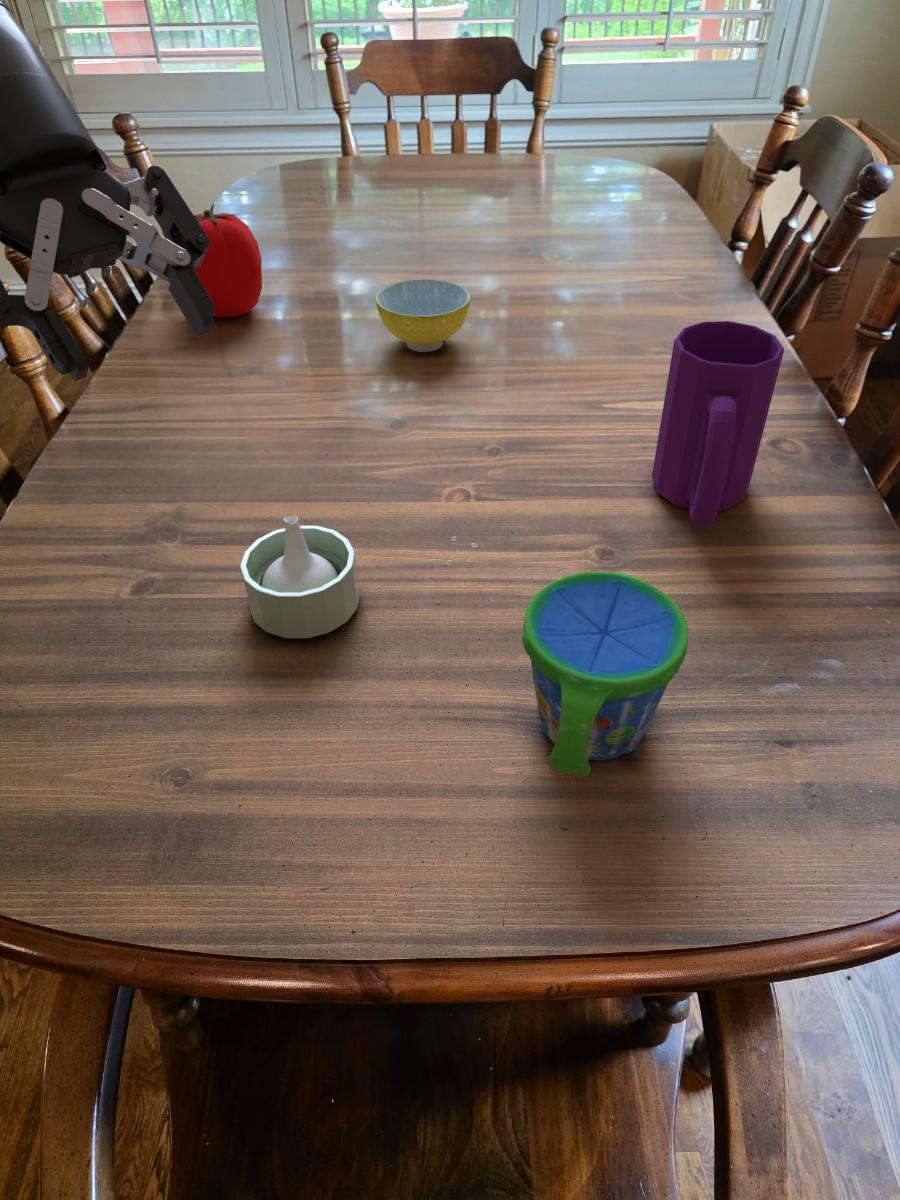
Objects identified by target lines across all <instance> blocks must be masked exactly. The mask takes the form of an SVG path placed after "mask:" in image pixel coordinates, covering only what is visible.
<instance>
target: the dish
mask: <svg viewBox="0 0 900 1200" xmlns="http://www.w3.org/2000/svg"><path fill="white" fill-rule="evenodd" d="M299 525H300V528H301V530H302V533H303V536H304V539H305V542H306V545H307V547H308V550H309V552H310V553H314V554H317V555H319V556H321V557H323V558H325V559H326V560H327V561H328V562H329V563H331V565H332V566H333V567H334V569H335V570H336V572H337V575H338V577H337V578H335V579H334V580H332V581H330V582H328V583H327V584H325V585H323V586H322V587H319V588H315V589H311V590H307V591H304V592H276V591H273V590H270V589H266V588H263V587H262V580H263V577H264V574H265V572H266V570H267V569H268V568H269V566H270V565H271V564H272V563H273V562H275V561H276V560H277V559H278V558H280V557H282V556H284V550H285V527H283V528H279V529H275V530H273V531H271V532H268V533H267V534H265V535H263V536H261V537H259V538H257V539H256V540H254V541H253V543H252V544H250V546H249V547H248V548H246V550H245V551H244V553H243V555H242V558H241V562H240V565H239V570H240V574H241V577H242V582H243V587H244V591H245V595H246V599H247V603H248V608H249V611H250V614H251V617H252V621H253V622H254V624H256V625H257V626H259V627H260V628H261V629H262V630H263V631H264V632H266V633H268V634H271V635H273V636H277V637H281V638H284V639H310V638H314V637H318V636H321V635H325V634H329V633H331V632H333V631H334V630H336V629H338V628H339V627H341V626H342V625H344V624H346V623H347V622H349V620H350V618H351V617H352V616H353V614H354V613H355V612H356V611H357V609H358V608H359V607H358V606H359V600H360V595H361V593H360V586H359V576H358V568H357V560H356V559H357V558H356V553H355V550H354V547H353V546H352V544H351V541H350V540H349V539H348V538H347V537H346V536H344V535H342V534H341V533H340V532H338V531H337V530H335V529H332V528H327V527H324V526H320V525H315V524H314V525H307V524H305V525H301V524H299Z"/></svg>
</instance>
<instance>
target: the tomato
mask: <svg viewBox="0 0 900 1200" xmlns="http://www.w3.org/2000/svg"><path fill="white" fill-rule="evenodd" d="M214 207H215V203H212V204H211V205H210V208H209V209H205V210H203V213H198V214H193V215H194V217H195V218H196V220H197V221H198V223H199V224H200V226H201V227H202V229H203V230H204V232H205V233H206V235H207V236H208V238H209V240H210V245H209V247H208V249H207V251H206V253H205V255H204V257H203V261H202V263H201V265H200V267H198V268H195V269H194V271H195V273H196V275H197V277H198V278H199V280H200V282H201V283H202V285H203V287H204V288H205V290H206V292H207V294H208V295H209V297H210V299H211V300H212V302H213V304H214V307H215V315H214V317H216V318H231V317H240V316H242V315H245V314H247V313H249V312H251V311H252V310H253V309H254V308H255V307H256V306H257V304H258V303H259V300H260V296H261V292H262V289H263V271H262V260H263V259H262V256H261V251H260V247H259V243H258V241H257V239H256V238H255V236H254V234H253V233H252V231H251V229H250V227H249V226H248V225H247V224H246V222H244V221H243V220H241V219H240V218H239V217H238V216H237V215H239V213H235V214H234V213H228V212H221V213H216V214H215V213H214Z"/></svg>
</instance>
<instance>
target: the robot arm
mask: <svg viewBox="0 0 900 1200" xmlns="http://www.w3.org/2000/svg"><path fill="white" fill-rule="evenodd" d="M48 63H49V62H47V60H46V58H45V57H44V55H43V53H42V52H41V50H40V49H39V48H38V46H37V44H36V43H35V42H34V41H33V39H32V38H31V37H30V35H29V34H28V33H27V31H26V30H25V29H24V27H22V25H21V24H20V22H19V21H18V19H17V17H16V16H15V14H14V13H13V10H12V9H11V8H10V6H9V4H8V2H7V1H6V0H0V243H1V244H2V245H4V246H5V247H7V248H9V249H11V250H13V251H14V252H16V253H18V254H20V255H21V256H23V257H25V258H27V259H29V260H30V263H29V270H28V277H27V282H26V288H25V294H9V292H8V291H7V289H6V287H5V285H4V284H3V282H2V280H1V279H0V330H5V329H7V328H8V327H23V328H24V329H27V330H29V331H30V332H31V333H32V335H33V336H34V338H35V340H36V341H37V343H38V345H39V347H40V348H41V350H42V351H43V353H44V354H45V356H46V358H47V359H48V362H49V363H50V364H51V367H52V368H53V369H54V370H55V371H56V372H57V373H58V374H60V375H61V376H64V375H69V377H70V378H71V380H72V381H73V382H77V381H79V380H83V379H86V378H87V375H88V372H89V368H90V367H89V362H88V360H87V358H86V356H85V355H84V353H83V351H82V350H81V348H80V347H79V344H78V343H77V342H76V340H75V338H74V337H73V335H72V334H71V332H70V330H69V328H68V327H67V325H66V323H65V322H64V320H63V318H62V316H61V315H60V313H59V312H58V310H57V309H56V308H53V309H50V307H49V306H48V305H49V304H48V303H49V299H50V293H51V288H52V287H51V286H52V281H53V276H54V273H55V274H57V275H60V276H61V275H62V276H67V278H68V279H73V278H75V277H79V276H81V275H83V274H84V273H86V272H88V271H89V270H91V269H105V268H109V267H112V266H115V265H116V264H117V260H119V261H121V262H122V263H125V264H126V265H128V266H130V267H131V268H133V269H135V270H137V271H143V270H144V271H147V272H149V273H151V274H152V275H155V276H156V277H158V278H160V279H162V280H163V281H165V282H167V283H169V286H168V288H167V289H168V292H169V293H170V295H171V296H172V298H173V300H174V301H175V303H176V305H177V306H178V308H179V310H180V311H181V313H182V315H183V316H184V318H185V320H186V322H187V323H188V325H189V326H190V328H191V330H192V332H193V333H194V335H195V336H196V337H197V338H198V337H199V338H200V337H203V336H205V335H208V334H209V333H210V332H211V330H212V328H213V326H214V323H215V320H214V317H215V316H214V315H215V307H214V304H213V302H212V300H211V299H210V297H209V295H208V294H207V292H206V290H205V288H204V287H203V285H202V283H201V282H200V280H199V278H198V277H197V275H196V273H195V271H194V269H195V268H198V267H200V265H201V263H202V261H203V257H204V255H205V253H206V251H207V249H208V247H209V245H210V240H209V238H208V236H207V235H206V233H205V232H204V230H203V229H202V227H201V226H200V224H199V223H198V221H197V220H196V218H195V217H194V215H195V214H194V213H193V212H192V210H191V209H190V207H189V205H188V204H187V202H186V201H185V200H184V198H183V196H182V195H181V193H180V192H179V190H178V189H177V188H176V186H175V184H174V183H173V181H172V180H171V178H170V177H169V175H168V174H167V172H166V171H165V170H164V169H163V168H162V167H161V166H158V165H150V166H149V167H148V168H147V169H146V173H145V176H142V177H139V178H137V179H133V180H130V181H127V182H125V183H124V182H123V181H122V180H121V179H119V178H118V177H116V176H115V175H114V174H113V173H112V172H111V171H110V169H108V167H107V164H106V163H105V161H104V158H103V156H102V154H101V152H100V150H99V148H98V146H97V145H96V142H95V141H94V139H93V138H92V136H91V134H90V133H89V131H88V129H87V127H86V126H85V124H84V123H83V121H82V119H81V117H80V116H79V114H78V112H77V111H76V108H75V107H74V105H73V103H72V102H71V101H70V98H69V97H68V96H67V93H66V92H65V90H64V88H63V87H62V85H61V84H60V81H59V80H58V78H57V77H56V75H55V73H54V72H53V70H52V69H51V66H50V65H49V64H48ZM131 205H135V206H137V207H138V208H140V209H141V210H142V211H143V212H144V215H145V216H146V217H152V216H153V218H154V219H155V221H156V222H157V224H158V226H159V227H160V228H161V230H162V231H163V233H164V234H165V236H166V237H167V238H165V236H162V235H161V234H160V233H159V231H158V229H157V228H156V227H155V226H154V225H152V224H151V223H149V222H147V221H146V220H144V219H143V218H140V217H139V216H137V215H136V214H134V213H132V212H131ZM128 237H130V238H131V239H133V240H134V242H135V243H136V244H134V243H132V242H130V241H129V240H127V239H128Z"/></svg>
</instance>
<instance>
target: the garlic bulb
mask: <svg viewBox="0 0 900 1200" xmlns="http://www.w3.org/2000/svg"><path fill="white" fill-rule="evenodd" d="M283 523H284V528H285V550H284V556H282V557H280V558H278V559H277V560H276V561H275V562H273V563H272V564H271V565H270V566H269V568H268V569H267V570H266V572H265V574H264V577H263V580H262V587H263V588H266V589H270V590H273V591H276V592H304V591H307V590H311V589H315V588H319V587H322V586H323V585H325V584H327V583H328V582H330V581H332V580H334V579H335V578H337V577H338V575H337V572H336V570H335V569H334V567H333V566H332V565H331V563H329V562H328V561H327V560H326V559H325V558H323V557H321V556H319V555H317V554H314V553H310V552H309V550H308V547H307V545H306V542H305V539H304V536H303V533H302V530H301V528H300V525H301V524H300V523H299V517H298V516H296V515H288V516H285V517H284V518H283Z"/></svg>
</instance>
